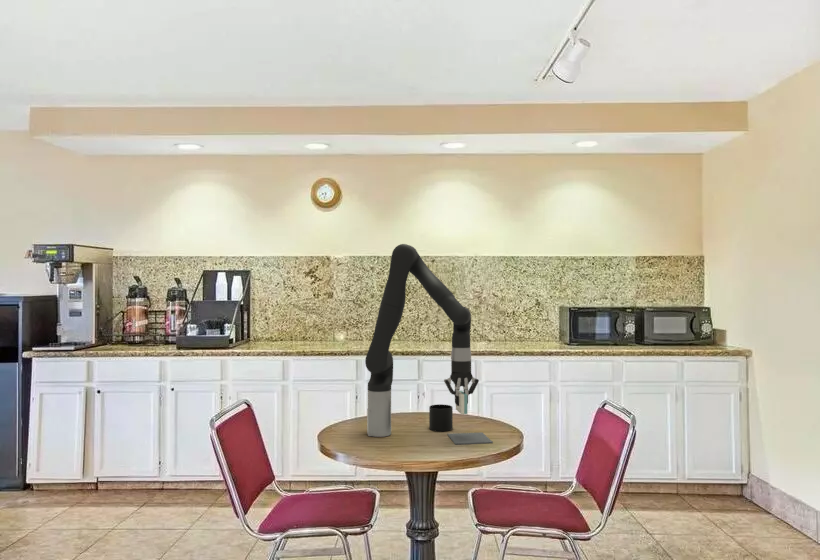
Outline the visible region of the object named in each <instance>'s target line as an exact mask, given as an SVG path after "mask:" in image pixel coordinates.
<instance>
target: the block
mask: <svg viewBox="0 0 820 560" xmlns="http://www.w3.org/2000/svg"><path fill="white" fill-rule="evenodd" d="M455 410H456V411H457V412H458V413H459V414H460V415H468V404H467V394H465V393H464V390H459V406H457V405H456V404H455Z"/></svg>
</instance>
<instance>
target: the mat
mask: <svg viewBox="0 0 820 560" xmlns="http://www.w3.org/2000/svg"><path fill="white" fill-rule="evenodd" d="M446 435H447V436H448V438H449V439H450V440H451V442H453V444H454V445H460V446H462V445H478V444H479V445H481V444H493V443H494V442H493V441H492V439H490V438H489V437H488V436H487V435H486V434H485V433H484V432H460V433H459V432H456V433H454V432H453V433H446Z"/></svg>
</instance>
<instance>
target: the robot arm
mask: <svg viewBox="0 0 820 560" xmlns="http://www.w3.org/2000/svg"><path fill="white" fill-rule="evenodd" d="M389 265H390V266H389V272H388V277H387V281H386V284H385V286H384V289H383V290H384V291H383V294H382V298H381V301H380V306H379V308H378V313H377V319H376V322H375V325H374V326H375V327H374V332H373V336H372V339H371V342H370V345H369V347H368V350H367V353H366V355H365V361H364V362H365V364H364V365H365V367H366V369H367V370H368V372H369V373H370V377H369V381H368V382H367V408H366V418H367V419H366V424H367V425H366V431H367V432H366V433H367V437H374V438H375V437H376V438H377V437H378V438H380V437H381V438H383V437H388V436H391V435H392V384H393V379H394V357H393V354H392V352H390V345H391V341H392V339H393V336H395V335H394V334H395V333H396V331H397V329H398V327H399V325H400V323H401V321H402V320H401V319H402V317H403V313H404V310H405V305H406V294H407V293H406V290H407V286H406V285H407V280H408V276H409V274H411V275H413V277H414V278H415V279H417V281H419V283H420V284H421V286H422V287H423V289H424V290H425V291H426V293H427V294H428V295H429V296H430V298H431V299H432V300H433V301H434V302H435V303H436V304H437V306H438V307H440V309H442V310H443V312H444V313H445V315H446V316H447V317H448V319H449V320H451V322H452V324H453V327H452V329H453V330H452V336H451V353H450V354H451V356H450V359H451V360H450V362H451V363H450V366H451V368H450V369H451V370H450V371H451V372H450V375H449V377H447V379H446V378H444V379H443V382H444V384H445V386H446V387H447V390H448V391H449V394H451V395H453V396H454V404H455V406H456V405H457V406H459V391H461V390H460V389H461V387H462V389H463V392H464V393H465V394H467V405H468V403H469V395H473V393H474V392H475V390H476V388H477V385H479V379H478V378H475V377H474V376H473V374H472V350H471V326H472V315H471V311H470V309H469V308H467V307H466V306H463V305H462V303H460V301H458V300H457V299H456V297H455V295H454V294H453V292H452V291H451V290H450V289H449V288H448V287H447V286H446V285H445V283H443V282H442V280H441V279H439V278H438V277H437V276H436V275H435V274H434V273H433V272H432V271H431V269H430V268H429V266H427V264H426V263H425V262H424V259H422V257H421V256H420V254H419V253H418V251H417V249H416V248H415V247H413V246H412V245H410V244H406V243H400V244H398V245H396V246H395V247H394V249H392V253H391V258H390V263H389ZM452 383H453V384H454V389H453V387H452V385H451V384H452ZM470 383H471V385H470V387H469V384H470Z"/></svg>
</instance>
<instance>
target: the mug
mask: <svg viewBox="0 0 820 560" xmlns="http://www.w3.org/2000/svg"><path fill="white" fill-rule="evenodd" d="M428 407H429V408H428V411H429V413H428V414H429V415H428V418H429V421H428V422H429V423H428V424H429V430H430V431H433V432H439V433H442V432H450V431H452V430H453V428H454V427H453V426H454V425H453V423H454V422H453V416H454V415H453V406H452V405H450V404H443V403H442V404H431V405H429V406H428Z"/></svg>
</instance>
